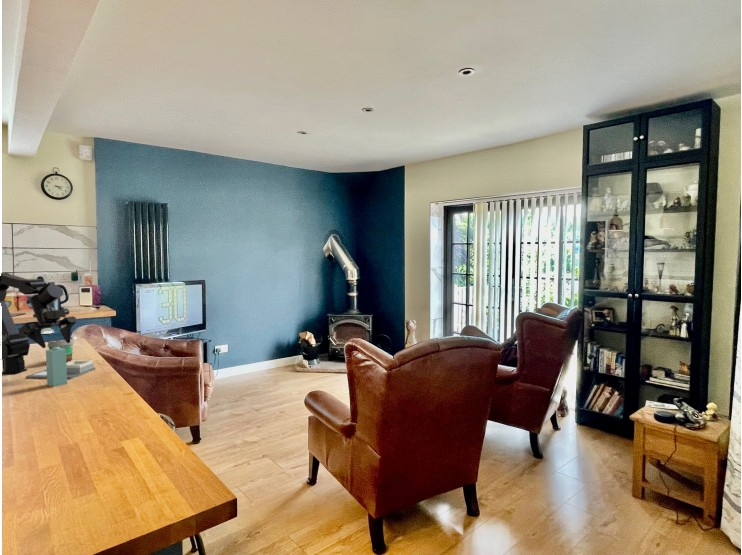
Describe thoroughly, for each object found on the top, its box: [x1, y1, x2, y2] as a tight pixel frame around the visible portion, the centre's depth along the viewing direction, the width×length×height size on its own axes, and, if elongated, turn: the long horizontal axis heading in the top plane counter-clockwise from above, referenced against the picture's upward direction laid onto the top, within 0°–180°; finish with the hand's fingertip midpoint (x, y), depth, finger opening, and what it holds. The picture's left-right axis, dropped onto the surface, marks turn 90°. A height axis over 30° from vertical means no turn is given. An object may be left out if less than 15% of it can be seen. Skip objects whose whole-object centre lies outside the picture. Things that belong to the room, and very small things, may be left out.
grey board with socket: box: [25, 359, 96, 380], centre depth 176 cm, size 18×14×4 cm
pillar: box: [45, 347, 68, 388], centre depth 162 cm, size 4×4×14 cm
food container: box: [47, 336, 76, 363], centre depth 196 cm, size 12×6×10 cm, turn 179°
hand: (57, 345), depth 169 cm, fingers open, 9 cm apart
